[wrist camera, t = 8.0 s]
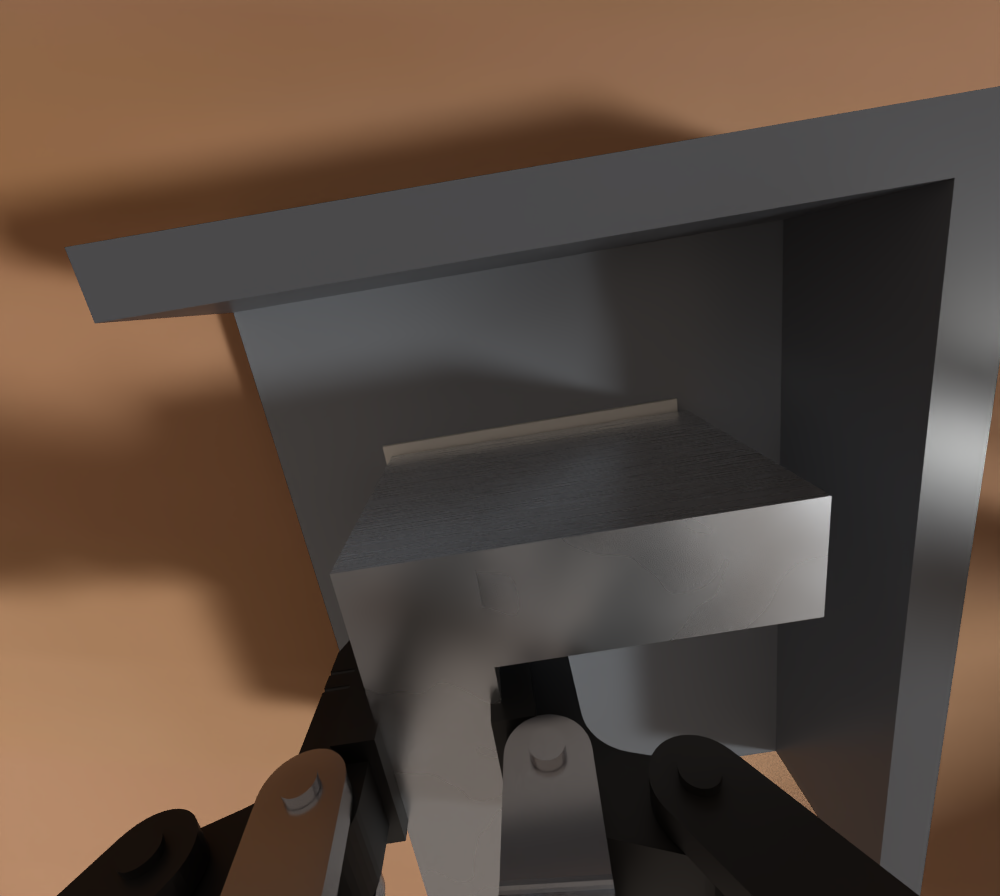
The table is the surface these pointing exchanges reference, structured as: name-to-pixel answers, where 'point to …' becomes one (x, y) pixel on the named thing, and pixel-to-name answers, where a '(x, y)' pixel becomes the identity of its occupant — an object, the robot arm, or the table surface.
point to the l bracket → (553, 589)
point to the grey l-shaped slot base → (667, 392)
